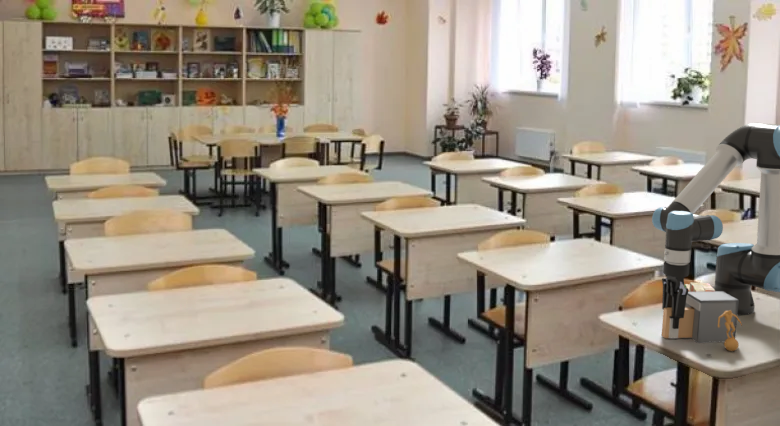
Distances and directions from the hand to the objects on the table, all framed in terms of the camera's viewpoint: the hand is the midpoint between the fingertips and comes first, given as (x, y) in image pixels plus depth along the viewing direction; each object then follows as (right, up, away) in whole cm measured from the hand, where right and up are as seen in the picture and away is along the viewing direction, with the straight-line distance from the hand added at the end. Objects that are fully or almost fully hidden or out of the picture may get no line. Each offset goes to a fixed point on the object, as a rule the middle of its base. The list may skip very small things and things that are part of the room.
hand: (670, 336), depth 261 cm
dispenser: (+12, 0, +1) cm, 12 cm away
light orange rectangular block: (+5, 0, +1) cm, 5 cm away
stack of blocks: (+15, +3, +19) cm, 25 cm away
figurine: (+14, -3, -10) cm, 17 cm away
